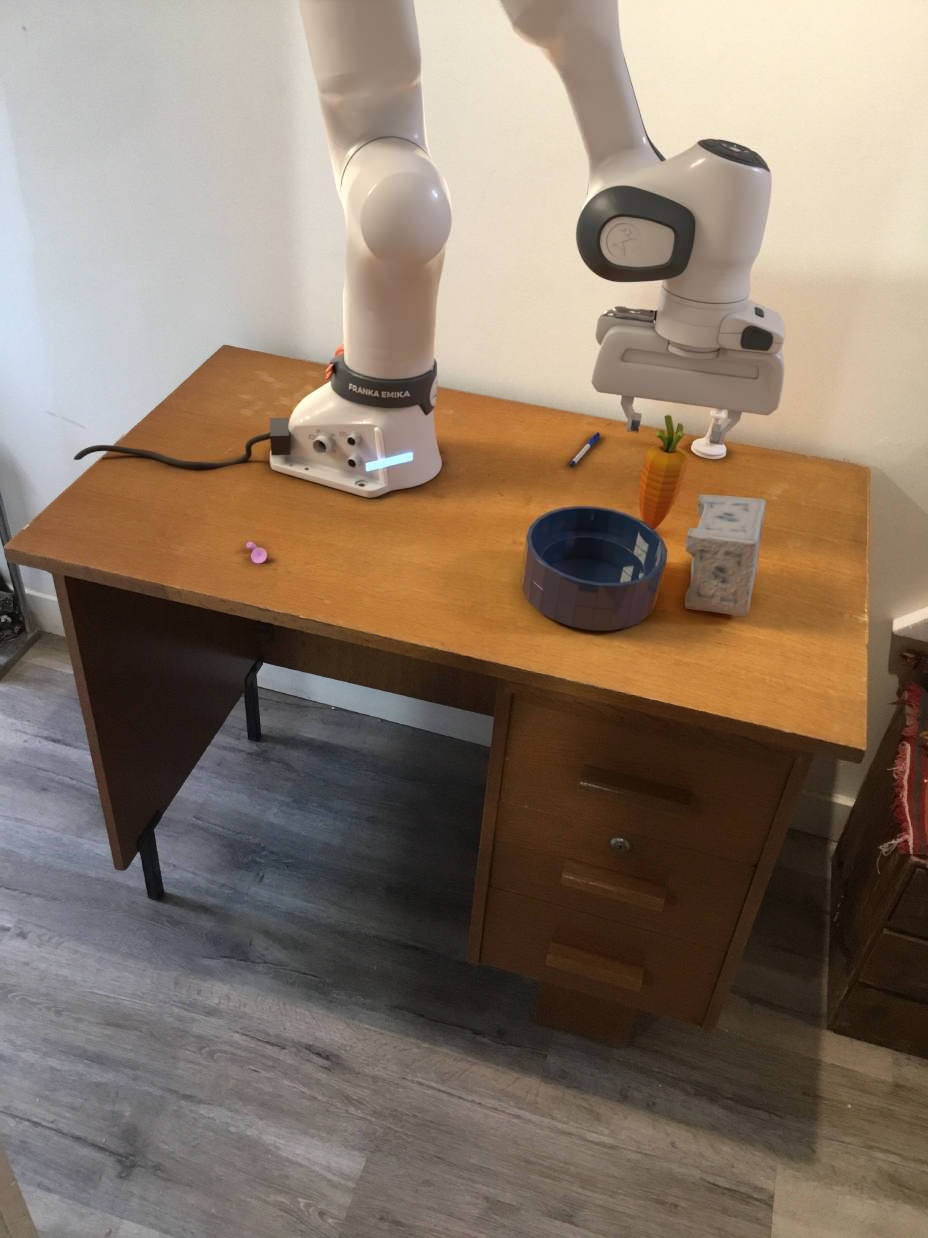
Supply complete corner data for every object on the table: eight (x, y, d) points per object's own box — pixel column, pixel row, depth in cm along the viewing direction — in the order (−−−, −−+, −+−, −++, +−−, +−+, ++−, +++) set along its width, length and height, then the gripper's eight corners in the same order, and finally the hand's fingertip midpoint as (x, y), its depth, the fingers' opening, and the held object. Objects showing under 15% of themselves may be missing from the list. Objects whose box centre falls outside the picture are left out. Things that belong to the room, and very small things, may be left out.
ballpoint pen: (594, 435, 131) (595, 429, 130) (600, 437, 130) (601, 430, 130) (568, 466, 123) (570, 460, 122) (575, 468, 123) (576, 462, 122)
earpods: (263, 569, 103) (274, 558, 103) (258, 566, 101) (269, 555, 101) (246, 551, 104) (257, 540, 104) (241, 547, 102) (252, 536, 102)
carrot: (669, 546, 109) (697, 433, 100) (627, 539, 110) (651, 426, 101) (670, 524, 113) (697, 413, 104) (630, 518, 114) (653, 407, 104)
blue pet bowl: (527, 633, 95) (534, 583, 91) (514, 551, 106) (520, 503, 102) (668, 636, 96) (681, 587, 92) (640, 554, 108) (651, 507, 104)
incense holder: (682, 560, 107) (702, 483, 101) (753, 577, 105) (778, 500, 99) (667, 607, 100) (688, 527, 93) (744, 627, 98) (770, 547, 91)
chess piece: (730, 449, 130) (748, 383, 124) (718, 462, 126) (736, 395, 120) (698, 438, 132) (714, 373, 125) (685, 451, 128) (701, 385, 122)
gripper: (596, 314, 94) (579, 435, 102) (800, 339, 91) (765, 462, 99) (602, 293, 98) (586, 411, 107) (796, 317, 96) (763, 436, 104)
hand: (673, 436), depth 103 cm, fingers open, 8 cm apart
